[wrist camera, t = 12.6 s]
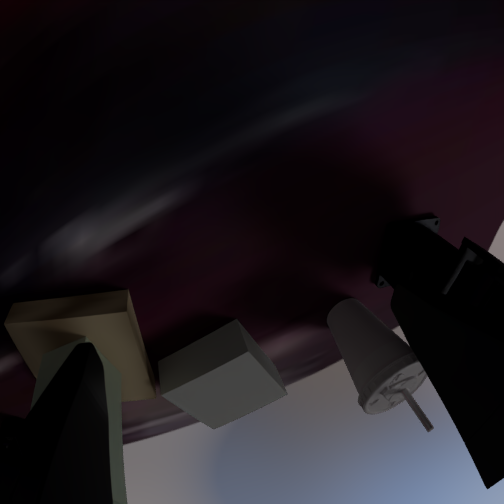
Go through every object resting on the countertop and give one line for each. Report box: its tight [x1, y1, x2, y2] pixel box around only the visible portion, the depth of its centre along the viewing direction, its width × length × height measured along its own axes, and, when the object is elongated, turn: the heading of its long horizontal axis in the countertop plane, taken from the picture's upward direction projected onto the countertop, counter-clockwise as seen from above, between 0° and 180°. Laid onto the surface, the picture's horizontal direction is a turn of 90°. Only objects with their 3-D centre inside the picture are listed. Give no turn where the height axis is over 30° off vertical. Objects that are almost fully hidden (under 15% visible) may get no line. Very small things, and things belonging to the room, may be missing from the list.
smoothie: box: [327, 298, 434, 432], centre depth 23 cm, size 6×6×14 cm
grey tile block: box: [158, 319, 287, 429], centre depth 27 cm, size 8×8×4 cm
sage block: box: [30, 336, 127, 504], centre depth 16 cm, size 5×5×11 cm
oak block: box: [4, 289, 156, 402], centre depth 22 cm, size 10×10×3 cm
